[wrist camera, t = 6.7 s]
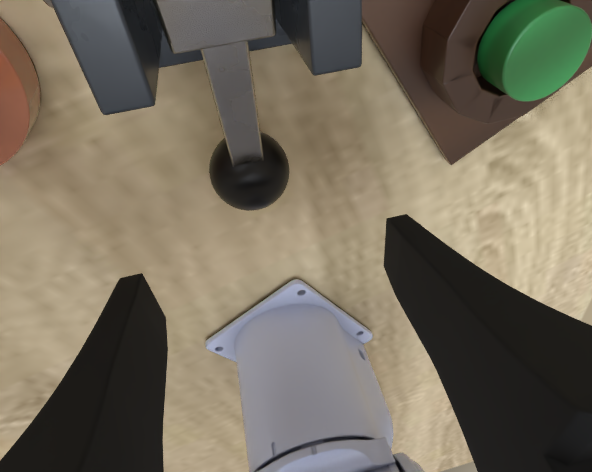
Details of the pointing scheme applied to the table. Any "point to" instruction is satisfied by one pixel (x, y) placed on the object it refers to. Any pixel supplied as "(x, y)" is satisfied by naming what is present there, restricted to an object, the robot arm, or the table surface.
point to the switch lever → (231, 92)
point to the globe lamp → (16, 94)
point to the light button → (534, 47)
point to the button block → (448, 66)
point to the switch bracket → (156, 52)
